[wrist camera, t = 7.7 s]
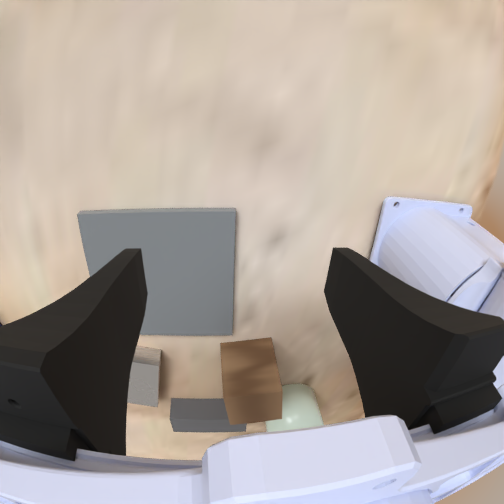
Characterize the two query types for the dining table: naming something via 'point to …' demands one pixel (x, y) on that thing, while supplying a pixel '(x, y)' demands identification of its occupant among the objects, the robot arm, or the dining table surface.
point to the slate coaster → (172, 263)
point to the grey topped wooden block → (145, 377)
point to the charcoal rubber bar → (201, 416)
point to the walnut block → (251, 381)
